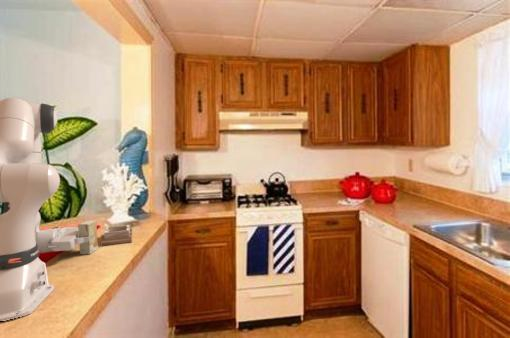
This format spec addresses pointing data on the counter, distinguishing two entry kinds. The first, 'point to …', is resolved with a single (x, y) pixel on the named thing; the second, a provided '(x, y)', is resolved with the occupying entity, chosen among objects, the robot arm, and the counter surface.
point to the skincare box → (89, 230)
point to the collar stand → (117, 235)
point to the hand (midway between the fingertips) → (90, 235)
